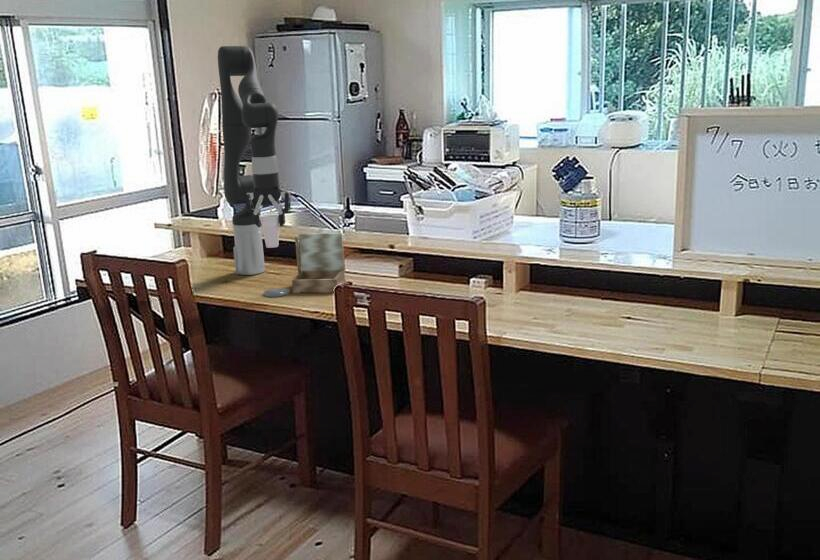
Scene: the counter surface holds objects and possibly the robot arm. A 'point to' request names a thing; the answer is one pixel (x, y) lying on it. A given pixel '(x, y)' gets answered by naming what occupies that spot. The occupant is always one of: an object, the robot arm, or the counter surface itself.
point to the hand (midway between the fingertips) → (270, 226)
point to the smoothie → (270, 228)
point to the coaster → (276, 292)
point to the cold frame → (319, 262)
